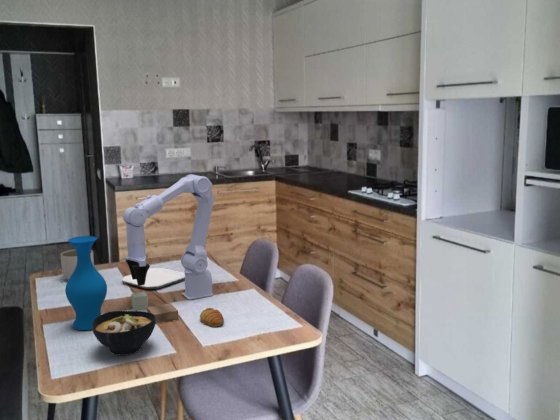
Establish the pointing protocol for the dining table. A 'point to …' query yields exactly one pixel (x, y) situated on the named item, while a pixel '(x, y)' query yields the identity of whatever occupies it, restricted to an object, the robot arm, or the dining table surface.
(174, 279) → the plate
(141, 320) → the bowl
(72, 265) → the planter
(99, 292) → the vase
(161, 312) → the base block
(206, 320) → the pastry
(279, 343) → the dining table surface
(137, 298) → the green block
